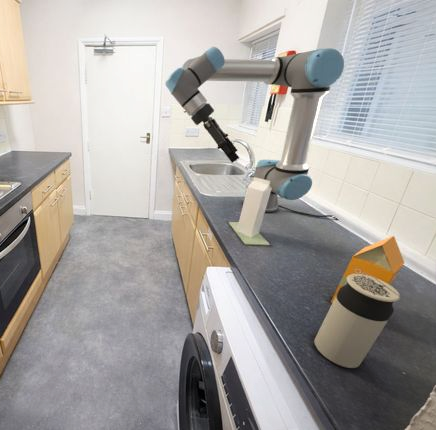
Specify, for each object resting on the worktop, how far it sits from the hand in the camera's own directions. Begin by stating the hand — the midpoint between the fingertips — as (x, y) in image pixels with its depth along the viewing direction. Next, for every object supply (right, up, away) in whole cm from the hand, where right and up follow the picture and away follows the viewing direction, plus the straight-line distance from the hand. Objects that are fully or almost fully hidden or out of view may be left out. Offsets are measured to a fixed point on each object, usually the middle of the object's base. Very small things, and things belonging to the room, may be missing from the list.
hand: (235, 156), depth 96 cm
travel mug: (+4, -51, -39) cm, 64 cm away
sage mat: (+9, -29, +9) cm, 31 cm away
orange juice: (+20, -45, -25) cm, 56 cm away
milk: (+9, -28, +9) cm, 31 cm away
